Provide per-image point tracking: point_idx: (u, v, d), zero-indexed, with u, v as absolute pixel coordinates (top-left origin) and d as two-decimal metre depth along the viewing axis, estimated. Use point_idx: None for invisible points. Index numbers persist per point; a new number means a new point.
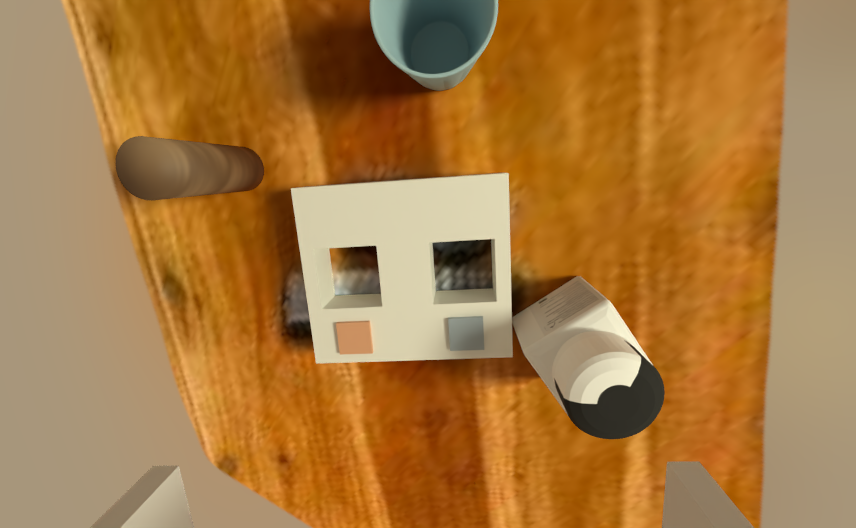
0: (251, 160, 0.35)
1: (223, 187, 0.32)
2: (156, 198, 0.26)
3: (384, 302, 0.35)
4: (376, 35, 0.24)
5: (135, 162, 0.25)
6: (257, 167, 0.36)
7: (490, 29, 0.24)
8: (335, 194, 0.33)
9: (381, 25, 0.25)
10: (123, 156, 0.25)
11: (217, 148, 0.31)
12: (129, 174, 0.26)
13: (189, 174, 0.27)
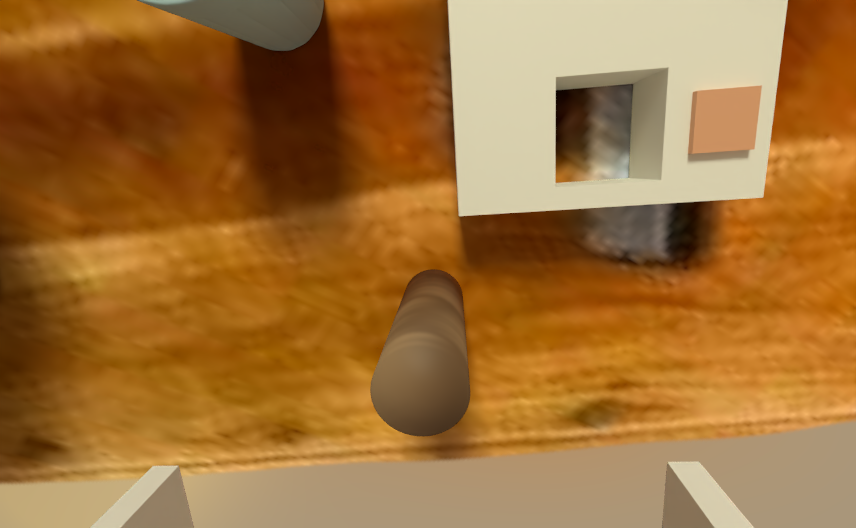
0: (420, 279, 0.25)
1: (455, 308, 0.21)
2: (467, 384, 0.16)
3: (660, 63, 0.20)
4: None
5: (410, 405, 0.16)
6: (430, 274, 0.26)
7: None
8: (469, 145, 0.21)
9: None
10: (401, 421, 0.16)
11: (400, 309, 0.22)
12: (428, 418, 0.16)
13: (430, 333, 0.17)
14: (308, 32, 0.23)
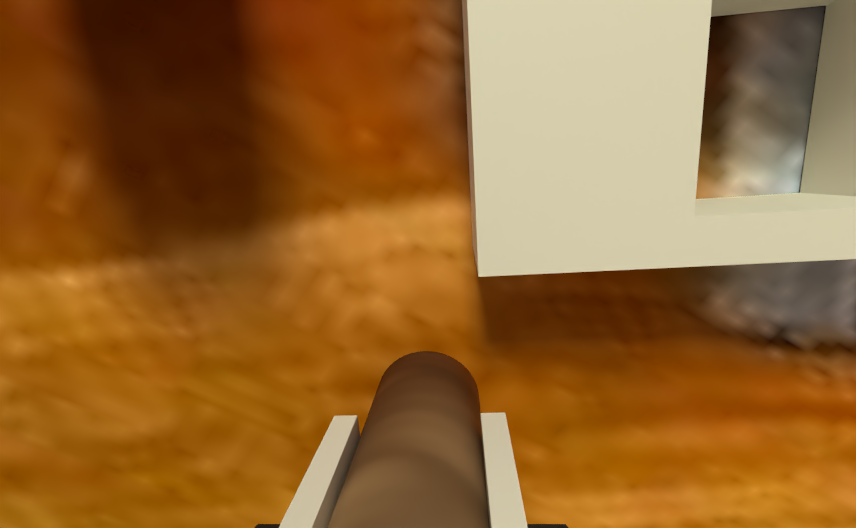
0: (401, 378, 0.14)
1: (470, 482, 0.10)
2: None
3: None
4: None
5: None
6: (421, 365, 0.14)
7: None
8: (504, 123, 0.09)
9: None
10: None
11: (349, 479, 0.10)
12: None
13: None
14: None
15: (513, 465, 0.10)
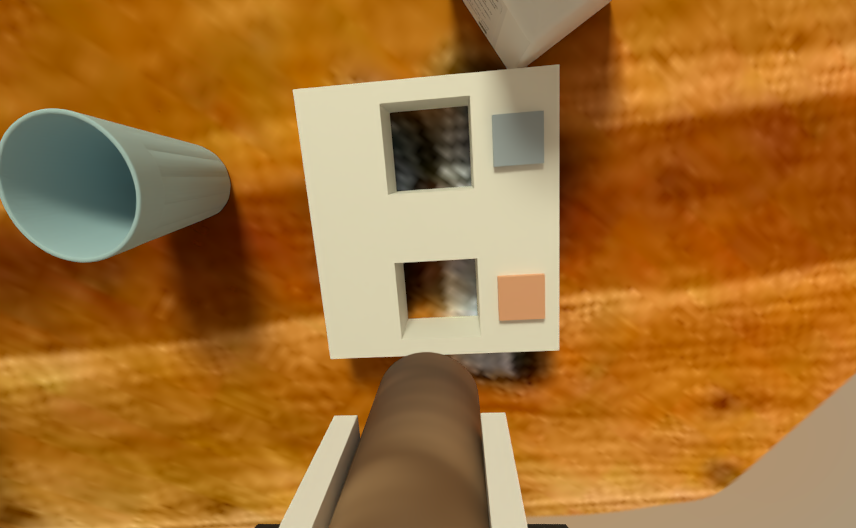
0: (402, 379, 0.14)
1: (470, 482, 0.10)
2: None
3: (471, 255, 0.26)
4: (105, 255, 0.21)
5: None
6: (422, 366, 0.14)
7: (75, 116, 0.19)
8: (334, 308, 0.28)
9: (110, 249, 0.22)
10: None
11: (350, 479, 0.10)
12: None
13: None
14: (216, 210, 0.29)
15: (513, 465, 0.10)
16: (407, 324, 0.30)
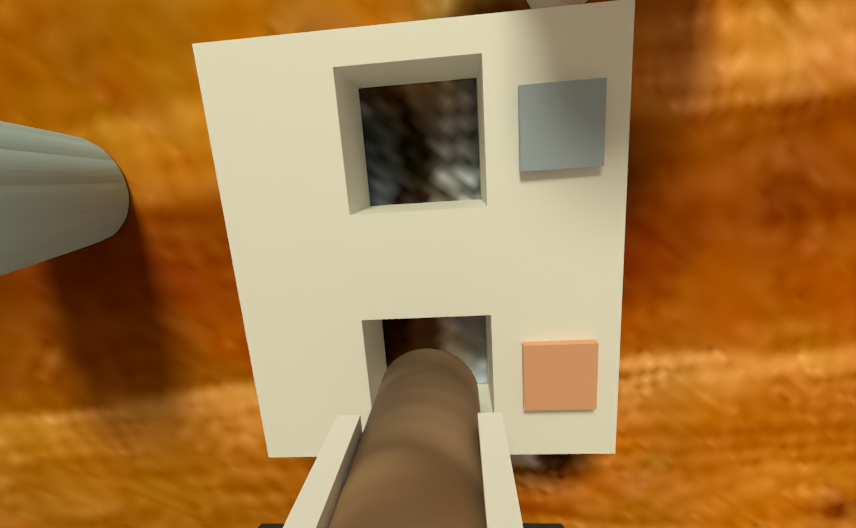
0: (403, 374, 0.14)
1: (470, 473, 0.10)
2: None
3: (481, 310, 0.17)
4: None
5: None
6: (423, 362, 0.15)
7: None
8: (272, 386, 0.18)
9: None
10: None
11: (353, 470, 0.10)
12: None
13: None
14: (106, 232, 0.20)
15: (509, 465, 0.10)
16: None
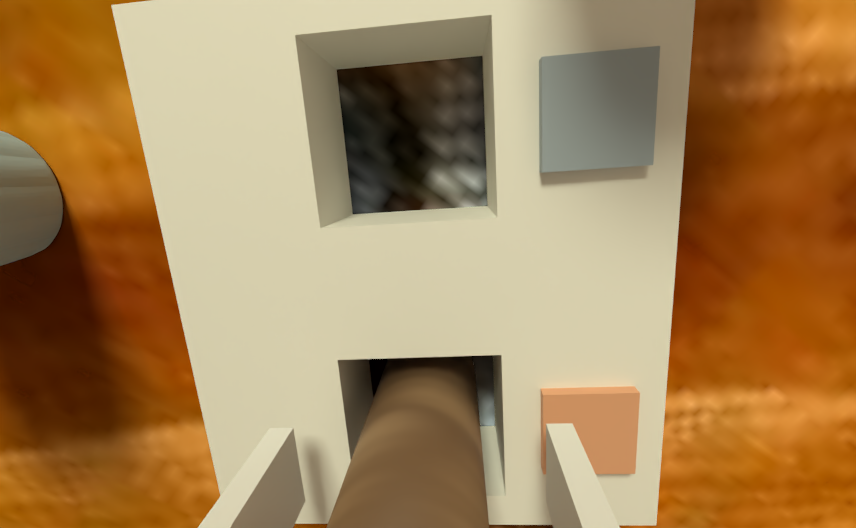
0: None
1: (466, 431, 0.12)
2: None
3: (489, 349, 0.13)
4: None
5: None
6: None
7: None
8: (227, 438, 0.15)
9: None
10: None
11: (366, 429, 0.12)
12: None
13: None
14: (33, 245, 0.17)
15: (597, 482, 0.09)
16: None
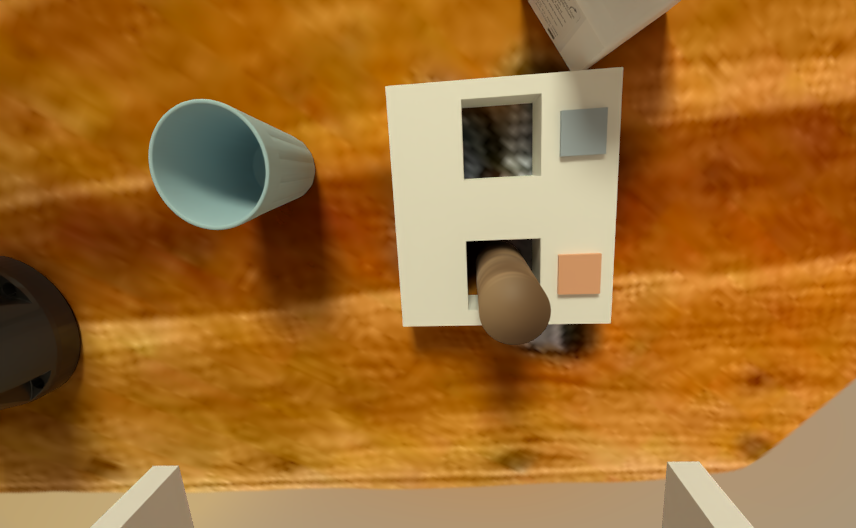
0: (492, 246, 0.32)
1: (526, 264, 0.28)
2: (549, 306, 0.22)
3: (535, 235, 0.29)
4: (235, 224, 0.25)
5: (506, 321, 0.23)
6: (499, 243, 0.33)
7: (220, 106, 0.23)
8: (409, 281, 0.31)
9: (233, 220, 0.26)
10: (499, 333, 0.23)
11: (483, 264, 0.28)
12: (519, 331, 0.23)
13: (520, 272, 0.23)
14: (303, 192, 0.33)
15: None
16: (469, 299, 0.34)
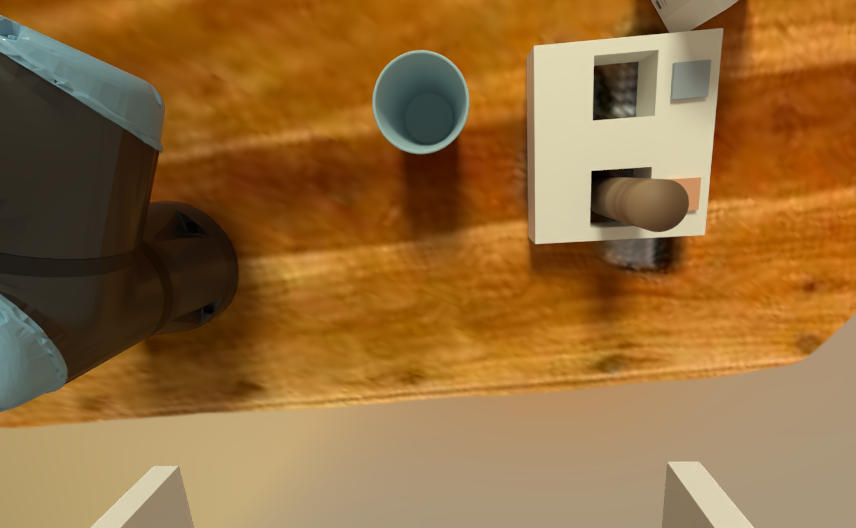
0: (605, 178, 0.40)
1: None
2: (687, 200, 0.30)
3: (647, 164, 0.37)
4: (437, 149, 0.32)
5: (654, 214, 0.30)
6: None
7: (435, 55, 0.30)
8: (543, 205, 0.39)
9: (426, 149, 0.33)
10: (648, 223, 0.31)
11: (611, 186, 0.36)
12: (664, 221, 0.30)
13: None
14: None
15: None
16: None
